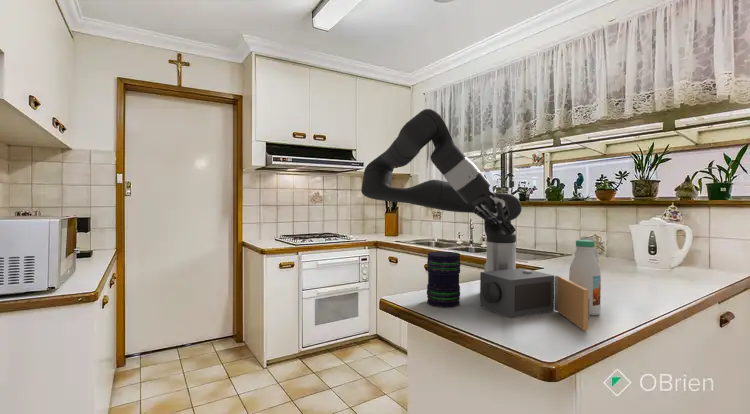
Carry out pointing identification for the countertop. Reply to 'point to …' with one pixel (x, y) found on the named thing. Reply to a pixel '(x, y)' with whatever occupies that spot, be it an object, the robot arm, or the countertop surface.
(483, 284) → the camera body
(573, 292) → the side door
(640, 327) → the countertop surface
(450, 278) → the storage jar
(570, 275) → the milk bottle
